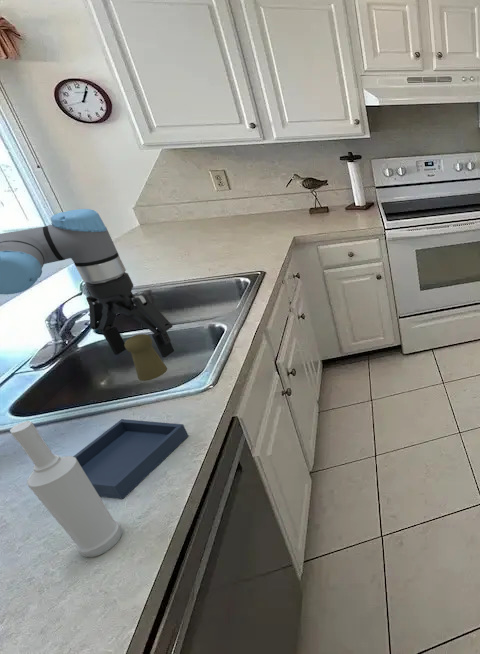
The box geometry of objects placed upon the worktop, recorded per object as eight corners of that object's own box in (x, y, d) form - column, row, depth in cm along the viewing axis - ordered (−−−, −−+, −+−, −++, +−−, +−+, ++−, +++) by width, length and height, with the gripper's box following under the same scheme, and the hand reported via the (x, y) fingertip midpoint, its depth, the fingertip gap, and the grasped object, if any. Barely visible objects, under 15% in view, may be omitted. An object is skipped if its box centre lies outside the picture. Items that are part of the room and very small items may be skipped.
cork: (137, 372, 106) (119, 336, 101) (166, 363, 110) (150, 328, 105) (138, 384, 102) (119, 347, 97) (168, 373, 105) (151, 337, 101)
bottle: (78, 566, 63) (-14, 448, 52) (84, 539, 67) (-1, 424, 56) (122, 545, 66) (43, 429, 55) (124, 520, 69) (51, 407, 59)
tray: (53, 491, 75) (44, 478, 74) (128, 430, 88) (121, 418, 87) (122, 499, 73) (114, 486, 72) (188, 435, 86) (183, 424, 85)
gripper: (168, 271, 96) (200, 346, 105) (77, 269, 99) (116, 342, 108) (138, 285, 89) (176, 364, 98) (42, 282, 92) (86, 359, 102)
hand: (144, 352), depth 103 cm, fingers open, 13 cm apart
